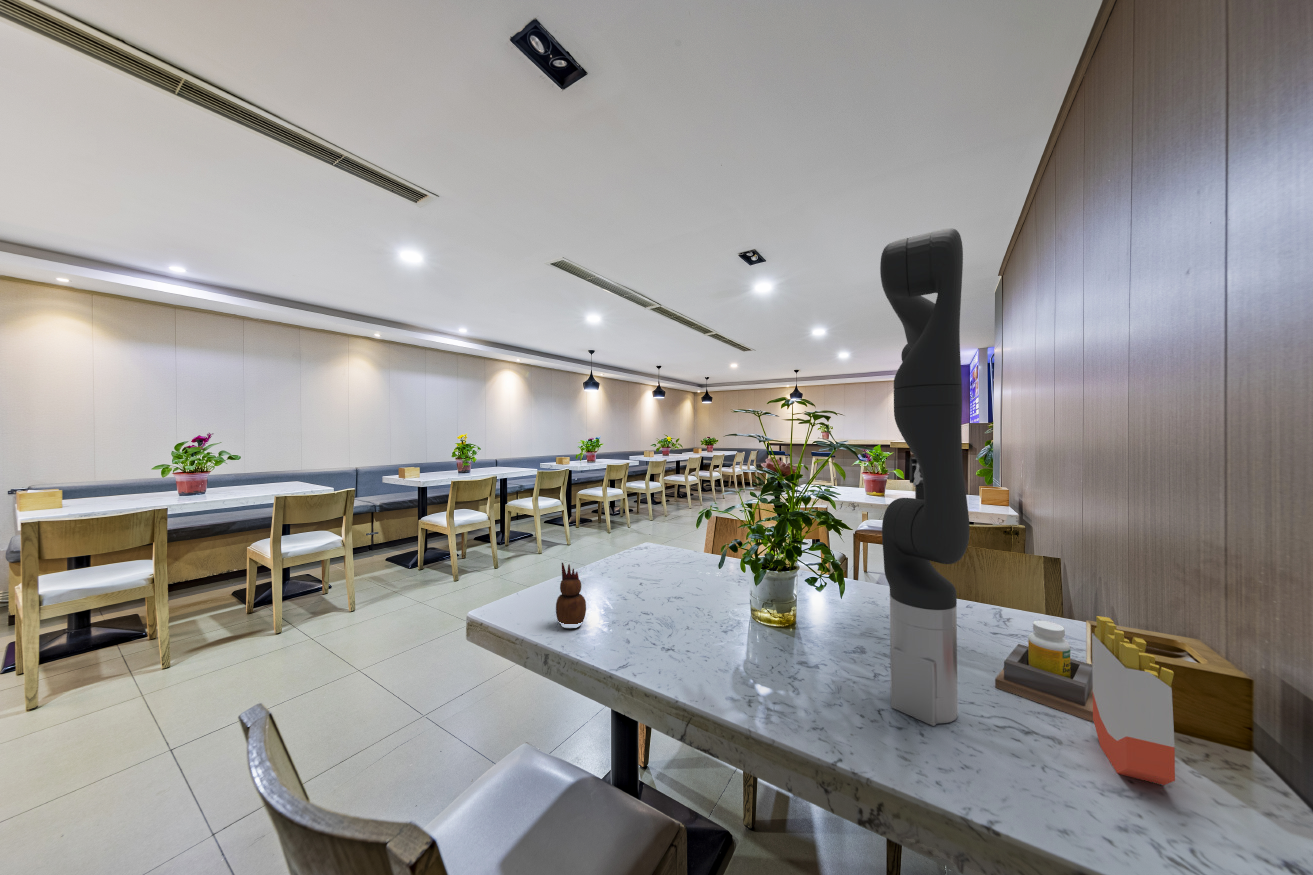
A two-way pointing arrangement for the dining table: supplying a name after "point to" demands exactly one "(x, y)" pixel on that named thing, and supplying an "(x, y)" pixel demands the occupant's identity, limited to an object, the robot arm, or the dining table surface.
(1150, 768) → the french fries container
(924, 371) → the robot arm
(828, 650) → the dining table surface
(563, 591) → the wooden figurine
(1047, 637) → the supplement bottle
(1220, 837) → the dining table surface
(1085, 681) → the collar stand
